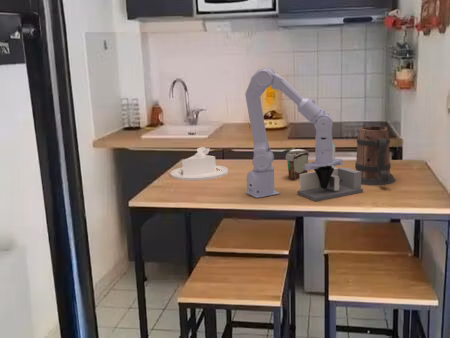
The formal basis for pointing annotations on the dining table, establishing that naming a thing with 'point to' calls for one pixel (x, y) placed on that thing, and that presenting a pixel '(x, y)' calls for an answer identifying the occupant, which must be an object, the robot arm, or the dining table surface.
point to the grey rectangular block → (334, 183)
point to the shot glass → (297, 150)
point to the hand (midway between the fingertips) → (324, 187)
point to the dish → (199, 167)
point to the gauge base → (314, 191)
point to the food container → (297, 163)
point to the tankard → (374, 156)
